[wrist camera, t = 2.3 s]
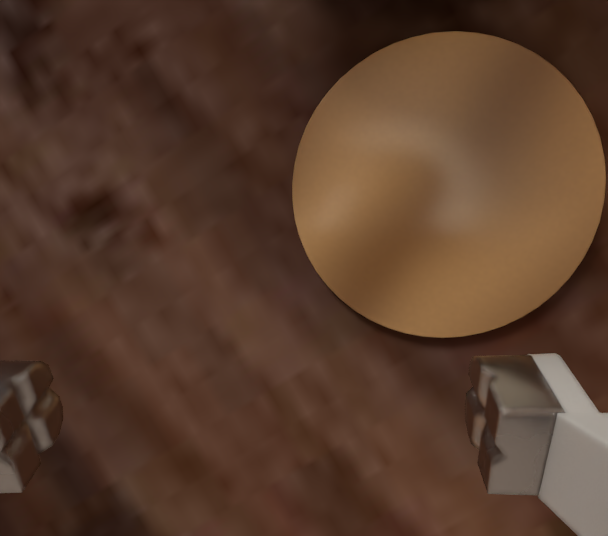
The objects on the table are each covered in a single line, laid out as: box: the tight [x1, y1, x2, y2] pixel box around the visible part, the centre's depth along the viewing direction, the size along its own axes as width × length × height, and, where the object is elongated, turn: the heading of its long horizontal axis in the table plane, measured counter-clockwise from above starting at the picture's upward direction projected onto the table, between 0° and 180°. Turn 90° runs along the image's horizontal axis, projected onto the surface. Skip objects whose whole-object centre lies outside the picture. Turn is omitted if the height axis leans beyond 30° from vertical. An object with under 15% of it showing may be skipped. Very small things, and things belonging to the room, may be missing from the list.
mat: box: [292, 31, 606, 338], centre depth 26 cm, size 15×15×1 cm
